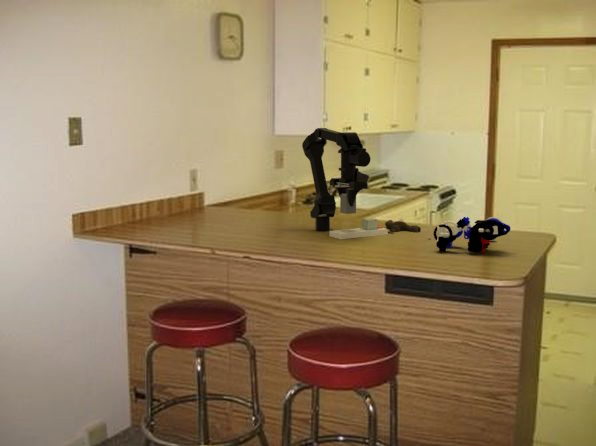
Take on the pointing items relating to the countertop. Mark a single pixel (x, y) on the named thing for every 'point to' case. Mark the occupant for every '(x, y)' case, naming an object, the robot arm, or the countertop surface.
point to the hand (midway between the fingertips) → (348, 205)
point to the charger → (346, 205)
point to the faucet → (401, 227)
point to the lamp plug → (369, 224)
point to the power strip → (357, 233)
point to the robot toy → (471, 233)
